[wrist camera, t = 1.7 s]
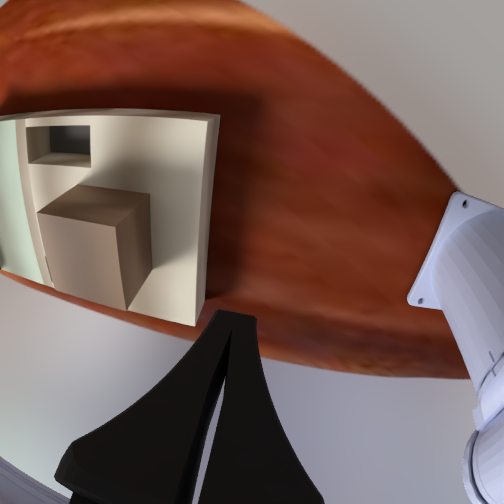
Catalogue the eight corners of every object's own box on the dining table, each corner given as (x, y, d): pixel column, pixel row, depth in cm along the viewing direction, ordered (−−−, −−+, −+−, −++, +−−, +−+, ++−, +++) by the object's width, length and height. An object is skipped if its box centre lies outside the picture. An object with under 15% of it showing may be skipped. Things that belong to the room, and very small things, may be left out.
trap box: (220, 114, 14) (197, 126, 11) (204, 300, 21) (188, 344, 17) (-8, 117, 15) (-46, 132, 11) (14, 252, 21) (-13, 277, 18)
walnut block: (150, 193, 14) (115, 226, 11) (152, 269, 17) (126, 311, 14) (77, 184, 14) (36, 212, 11) (86, 254, 17) (54, 289, 14)
